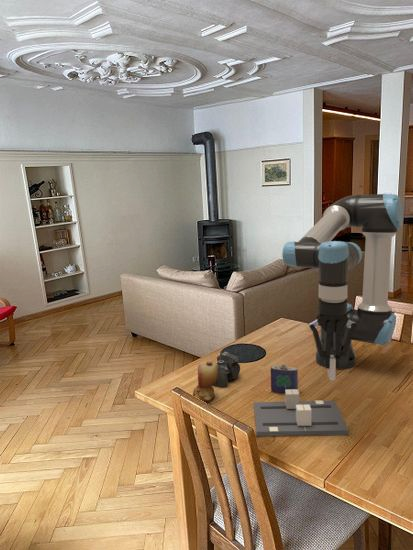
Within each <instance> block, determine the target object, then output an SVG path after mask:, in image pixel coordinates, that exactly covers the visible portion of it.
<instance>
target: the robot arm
mask: <svg viewBox="0 0 413 550" xmlns="http://www.w3.org/2000/svg"><path fill="white" fill-rule="evenodd" d="M403 221H404V208H403V204H402V200H401V197H400V196H399V195H397V194H392V193H381V194H380V193H376V194H352V195H348V196H345V197H342V198H340V199H339V200H336V201H334V203H332V204H331V205H329V206H328V207H327V208H326V209H325V210H324V212H323V214H322V217H321V218H320V219H319V220H318V221H317V222H316V223H315V224H314V225H313V226H312V227H311V229H309V230H308V231H307V232H306V233H305V234H304V235H303V236H302V237H301V238H300V240H298V241H288V242H286V243H285V244H284V246H283V248H282V253H281V255H282V260H283V263H284V264H285V265H286V266H289V267H295V268H298V267H299V268H312V269H318V298H319V299H318V307H317V309H318V312H317V316H316V317H315V318H316V319H315V320H314V321H309V322H308V326H309V329H310V330H311V332H312V335H313V338H314V343H315V346H316V353H315V361H316V363H317V364H319V365H320V366H322V367H323V368H324V367H325V369H327V378H328V379H329V381H336V370H346V369H349V368H352V367H354V366H355V365H356V363H357V362H356V361H357V356H356V354H355V350H354V348H353V344H352V341H356V342H363V343H367V344H373V345H381V346H387V345H388V344H390V342H391V341H392V339H393V335H394V333H395V328H396V324H397V315H396V314H394V313H392V311H393V310H392V307H391V306H390V305H389V304H388V299H389V286H390V285H389V283H390V273H391V272H390V269H391V255H392V254H391V253H392V243H393V242H392V241H393V240H392V239H393V237H394V236H395V235H397V234H398V229H401V228H403V225H404V222H403ZM346 228H361V234H362V235H364V237H365V246H364V262H363V263H364V264H363V265H364V266H363V280H362V281H363V284H362V301H361V302H360V303H359V304H358V305H357V308H356V309H354V308H353V307H354V306H353V305H352V304H351V303H348V300H347V299H348V291H349V290H348V289H349V288H348V282H349V281H348V280H349V279H348V277H349V271H350V270H353V269H354V268H356V267H357V266H358V264H359V263H360V262H361V260H362V257H363V251H362V250H361V249H362V248H360V246H359V245H358V244H357V243H354V242H351V241H349V242H348V241H341V240H338V241H337V240H333V239H334V238H335V237H336V236H337V234H338V233H339V232H340V231H343V230H345V229H346ZM332 240H333V241H332ZM319 328H320V333H319V331H318V329H319ZM319 334H320V335H319Z"/></svg>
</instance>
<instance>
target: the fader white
mask: <svg viewBox="0 0 413 550" xmlns="http://www.w3.org/2000/svg"><path fill="white" fill-rule="evenodd" d="M296 422H297V426H311V407H310V404H309V405H296Z"/></svg>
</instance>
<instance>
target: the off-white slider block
mask: <svg viewBox="0 0 413 550" xmlns="http://www.w3.org/2000/svg"><path fill="white" fill-rule="evenodd" d="M284 399H285V400H284V402H285V404H286V409H296V405H299V401H300V391H299V388H298V389H289V390H285V393H284Z"/></svg>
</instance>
